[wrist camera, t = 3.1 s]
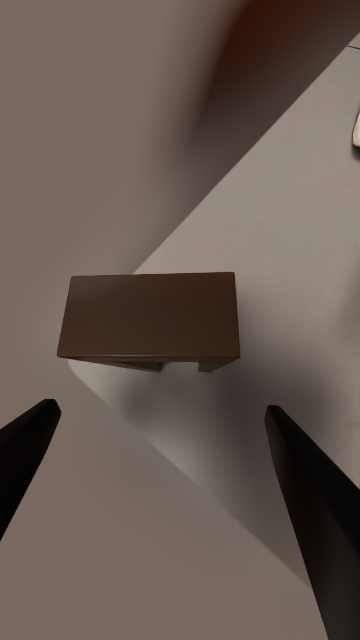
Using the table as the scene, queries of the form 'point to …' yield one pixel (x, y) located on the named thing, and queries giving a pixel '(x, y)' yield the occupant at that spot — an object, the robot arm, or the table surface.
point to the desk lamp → (357, 133)
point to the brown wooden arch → (152, 320)
